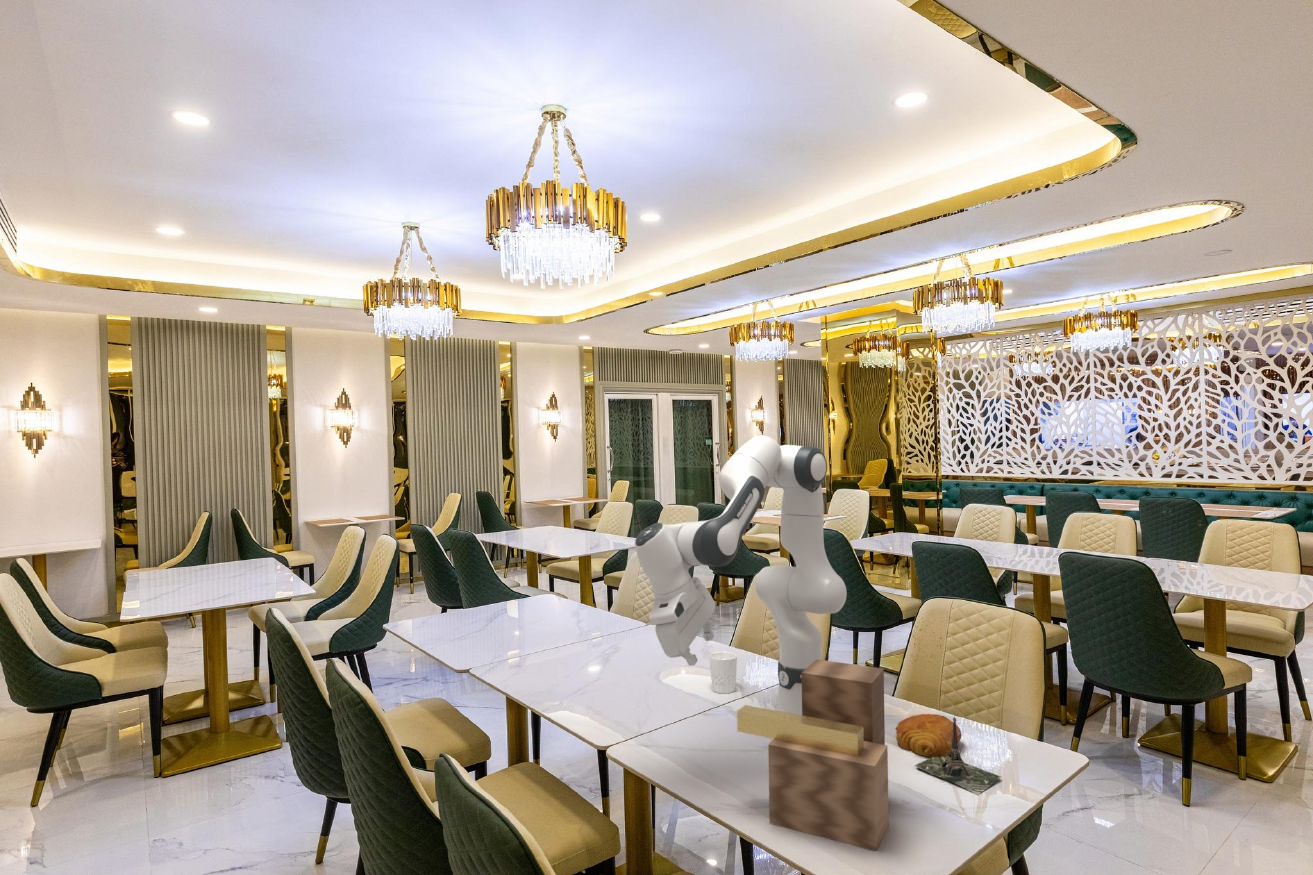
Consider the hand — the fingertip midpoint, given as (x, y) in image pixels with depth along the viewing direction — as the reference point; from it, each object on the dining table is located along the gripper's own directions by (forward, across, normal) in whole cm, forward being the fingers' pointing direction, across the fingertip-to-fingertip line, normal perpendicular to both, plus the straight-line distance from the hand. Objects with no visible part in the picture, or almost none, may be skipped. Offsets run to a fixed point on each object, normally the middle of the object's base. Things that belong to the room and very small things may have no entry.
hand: (702, 651), depth 163 cm
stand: (+31, +12, +23) cm, 41 cm away
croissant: (+47, -26, +30) cm, 62 cm away
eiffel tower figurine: (+45, -13, +39) cm, 61 cm away
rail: (+14, +13, +21) cm, 29 cm away
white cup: (+36, -40, -27) cm, 60 cm away
